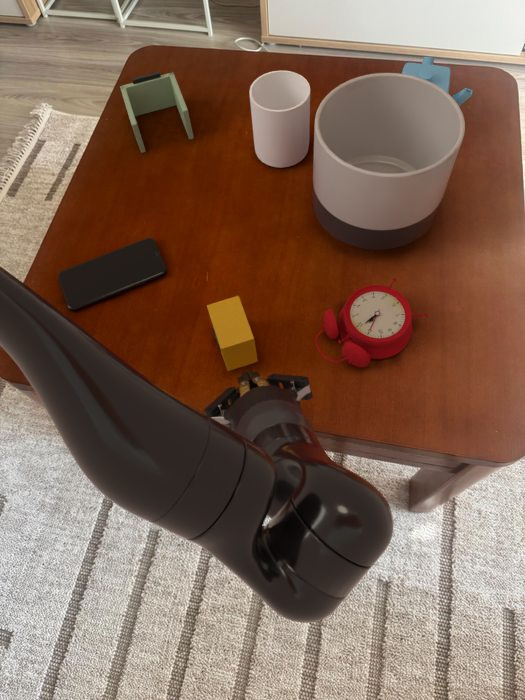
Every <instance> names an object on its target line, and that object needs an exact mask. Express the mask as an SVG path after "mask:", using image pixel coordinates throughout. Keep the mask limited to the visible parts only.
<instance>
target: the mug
mask: <svg viewBox="0 0 525 700" xmlns="http://www.w3.org/2000/svg"><path fill="white" fill-rule="evenodd" d="M248 92H249V104H250V114H251V124H252V126H251V127H252V135H253V145H254V152H255V155H256V156H257V158H258V160H260V162H261V163H263V164H265V165H266V166H270V167H273V168H280V169H281V168H289V167H292V166H295V165H297V164H299V163H300V162H302V160H304V158H306V156H307V154H308V153H309V147H310V127H311V126H310V123H311V86H310V83H309V82H308V80H307V78H305V77H304V76H303V75H301V74H299V73H297V72H294V71H290V70H272V71H269V72H266V73H263V74H262V75H259V76H258V77H257V78H256V79H254V81H253V82H252V83H251V85H250V86H249V91H248Z"/></svg>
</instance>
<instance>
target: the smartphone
mask: <svg viewBox="0 0 525 700" xmlns="http://www.w3.org/2000/svg"><path fill="white" fill-rule="evenodd" d="M167 272H168V268H167V265H166V263H165V260H164V258H163V256H162V253H161V252H160V249H159V246H158V245H157V242H156V240H155V239H154V238H152V237H147V238H143V239H141V240H138V241H136V242H133V243H131V244H128V245H126V246H123V247H120V248H118V249H115V250H113V251H109V252H107V253H104V254H102V255H100V256H97V257H94V258H92V259H90V260H86V261H84V262H82V263H79V264H76V265H74V266H71V267H69V268H66V269H63V270H61V271H60V272H59V273H58V276H57V279H58V282H59V285H60V289H61V292H62V294H63V298H64V301H65V304H66V307H67V309H68V310H69V311H72V312H76V311H79V310H82V309H84V308H87V307H89V306H91V305H94V304H96V303H99V302H101V301H104V300H106V299H109V298H112V297H114V296H117V295H120V294H121V293H124V292H127V291H129V290H132V289H134V288H136V287H139V286H142V285H144V284H147V283H149V282H152V281H154V280H157V279H159V278H161V277H164V276H165V275H166V274H167Z"/></svg>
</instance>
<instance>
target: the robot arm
mask: <svg viewBox="0 0 525 700" xmlns="http://www.w3.org/2000/svg"><path fill="white" fill-rule="evenodd" d="M0 347H1V348H2V349H3V351H4V352H6V353H7V355H8V356H9V358H11V360H12V361H13V362H14V363H15V364H16V366H17V367H18V368H19V370H20V371H21V372H22V374H23V376H24V377H25V378H26V380H27V381H28V384H29V385H30V386H31V388H32V389H33V390H34V392H35V393H36V395H37V397H38V399H39V401H40V402H41V404H42V405H43V407H44V409H45V411H46V412H47V414H48V415H49V417H50V419H51V421H52V423H53V425H54V427H55V428H56V430H57V432H58V434H59V437H60V438H61V439H62V441H63V443H64V445H65V446H66V448H67V449H68V451H69V453H70V455H71V456H72V458H73V459H74V461H75V463H76V464H77V467H78V468H79V469H80V471H82V473H83V474H84V475H85V477H86V478H87V480H88V481H89V482H90V483H91V484H92V485H93V487H94V488H95V489H97V491H99V493H101V494H102V495H103V496H104V497H105V498H107V499H108V500H109V501H110V502H112V503H113V504H115V506H117V507H119V508H121V509H123V510H124V511H126V512H128V513H130V514H132V515H134V516H136V517H137V518H140V519H142V520H144V521H146V522H149V523H150V524H153V525H155V526H156V527H159V528H161V529H163V530H165V531H168V532H170V533H171V534H174V535H176V536H178V537H180V538H182V539H185V540H187V541H189V542H191V543H194V544H196V545H197V546H200V548H202V549H204V550H205V551H207V552H208V553H209V554H210V555H211V556H213V557H214V558H215V559H216V560H218V562H220V563H221V564H223V566H225V567H226V568H227V569H228V570H230V571H231V572H232V573H233V574H234V575H235V576H237V577H238V578H239V579H240V580H241V581H242V582H243V583H244V584H245V585H247V587H248V588H249V589H251V591H252V592H253V593H254V594H256V595H257V597H259V598H260V599H261V600H262V602H264V603H265V605H266V606H268V608H270V609H271V610H272V611H273V612H275V613H276V614H277V615H279V616H280V617H281V618H284V619H286V620H288V621H290V622H295V623H301V624H303V623H307V624H308V623H316V622H320V621H323V620H324V619H326V618H328V617H330V616H331V615H332V614H333V613H334V612H335V611H336V610H337V609H338V607H339V606H341V604H342V603H343V602H344V600H345V599H346V598H347V597H348V596H349V594H350V593H351V592H352V591H353V590H354V588H355V587H356V586H357V584H358V583H359V582H360V581H361V580H362V579H363V578H364V577H365V575H366V574H367V573H368V572H369V571H370V570H371V568H372V567H373V566H374V565H375V564H376V562H377V561H378V560H379V559H380V558H381V556H382V555H383V554H384V553H385V552H386V550H387V549H388V547H389V545H390V544H391V541H392V540H393V539H392V538H393V537H394V535H393V534H394V524H395V523H394V517H393V516H394V515H393V513H392V509H391V508H392V507H391V506H390V504H389V503H388V501H387V499H386V498H385V495H383V494H382V492H380V490H379V489H378V488H377V487H376V486H374V485H373V484H372V483H370V482H369V481H368V480H367V479H365V478H364V477H362V476H361V475H359V474H357V473H355V472H354V471H351V470H350V469H348V468H346V467H345V466H342V465H340V464H338V463H337V462H335V461H334V460H333V459H332V458H331V457H330V456H329V455H328V454H327V452H326V451H325V449H324V447H323V445H322V444H321V443H320V441H319V439H318V437H317V432H316V430H315V428H314V426H313V424H312V422H311V421H310V420H309V417H308V416H307V415H306V413H305V412H304V410H303V408H302V407H301V402H300V400H302V401H309V400H312V399H313V398H314V395H313V391H312V386H311V383H310V380H309V377H308V376H304V375H293V374H280V373H271V374H269V375H267V378H263V377H262V376H261V374H260V372H259V371H253V370H252V368H251V369H247V370H245V371H242V372H240V376H238V377H237V378H236V379H237V382H238V387H237V388H236V387H235V386H230V387H228V388H225V390H224V391H223V392H222V393H221V394H220V395H218V396H217V397H216V398H215V399H214V400H213V401H212V402H211V403H210V404H209V405H208V406H207V407H206V408H204V409H203V412H202V411H200V410H199V409H197V408H196V407H193V406H192V405H190V404H189V403H187V402H186V401H183V400H182V399H180V398H178V397H177V396H176V395H174V394H172V393H171V392H170V391H168V390H166V389H164V387H161V386H160V385H158V384H157V383H155V382H154V381H152V379H149V378H148V377H147V376H145V375H144V374H142V373H141V372H139V371H138V370H137V369H135V368H134V367H133V366H132V365H130V364H129V363H128V362H126V361H125V360H123V359H122V358H121V357H119V356H118V355H117V354H116V353H114V352H113V351H112V350H111V349H110V348H108V347H107V346H105V345H104V344H103V343H102V342H100V340H98V339H97V338H95V337H94V336H93V335H91V334H90V333H89V332H88V331H87V330H85V329H84V328H83V327H82V326H81V325H79V324H78V323H77V322H75V321H74V320H72V319H71V318H70V317H68V316H67V315H66V314H65V313H64V312H63V311H61V310H60V309H59V308H57V307H56V306H55V305H53V304H52V303H51V302H49V301H48V300H46V299H45V298H44V297H42V296H41V295H40V294H39V293H37V292H36V291H35V290H34V289H32V288H31V287H29V286H28V285H27V284H25V283H24V282H23V281H22V280H20V279H19V278H17V277H16V276H15V275H13V274H12V273H11V272H9V271H8V270H7V269H5V268H3V266H1V265H0ZM281 385H282V387H281ZM267 517H268V518H270V520H269V521H268V522H267V523H266V525H264V523H265V521H266V518H267Z"/></svg>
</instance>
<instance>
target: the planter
mask: <svg viewBox="0 0 525 700" xmlns="http://www.w3.org/2000/svg"><path fill="white" fill-rule="evenodd" d="M451 96H452V95H450V94H448V93H447V92H446V91H445V90H443V89H442V88H440V87H439V86H437V85H435V84H434V83H432V82H429V81H427V80H425V79H422V78H419V77H415V76H412V75H407V74H401V73H400V72H375V73H369V74H364V75H361V76H357V77H354V78H351V79H349V80H347V81H345V82H343V83H341V84H339V85H338V86H336V87H334V89H332V90H331V91H330V92H329V93H327V95H325V97H324V98H323V99H322V100H321V102H320V104H319V105H318V108H317V109H316V113H315V116H314V129H313V130H314V132H313V135H314V136H313V164H312V193H311V194H312V197H311V200H312V201H311V204H312V210H313V212H314V215H315V217H316V220H317V221H318V222H319V224H320V225H321V227H322V228H323V229H324V230H325V231H326V232H327V233H328V234H330V235H331V236H332V237H334V238H335V239H337V240H338V241H340V242H342V243H344V244H346V245H349V246H352V247H355V248H359V249H363V250H364V249H365V250H373V251H375V250H376V251H380V250H381V251H383V250H385V251H386V250H391V249H396V248H400V247H404V246H406V245H408V244H409V245H410V243H413V242H414V241H416V240H418V239H419V238H421V237H422V236H423V235H425V233H427V232H428V230H429V229H430V228H431V227H432V226H433V224H434V222H435V220H436V218H437V215H438V213H439V211H440V207H441V204H442V202H443V198H444V196H445V193H446V189H447V187H448V184H449V181H450V178H451V175H452V173H453V169H454V167H455V164H456V161H457V158H458V155H459V152H460V150H461V146H462V144H463V141H464V139H465V138H464V137H465V133H466V123H465V116H464V114H463V110H462V109H461V107H460V106H459V105H458V104H457V103H456V101H455V100H454V99H453V98H452V97H451Z"/></svg>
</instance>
